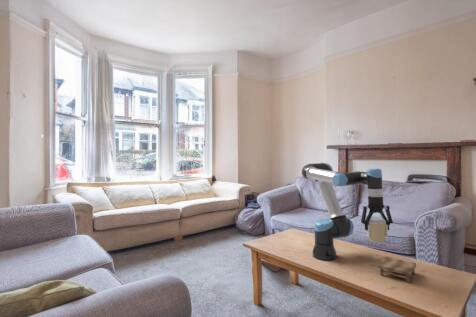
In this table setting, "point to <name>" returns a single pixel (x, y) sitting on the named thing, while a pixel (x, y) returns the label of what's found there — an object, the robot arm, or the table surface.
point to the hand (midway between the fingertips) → (377, 235)
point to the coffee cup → (377, 230)
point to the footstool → (397, 267)
